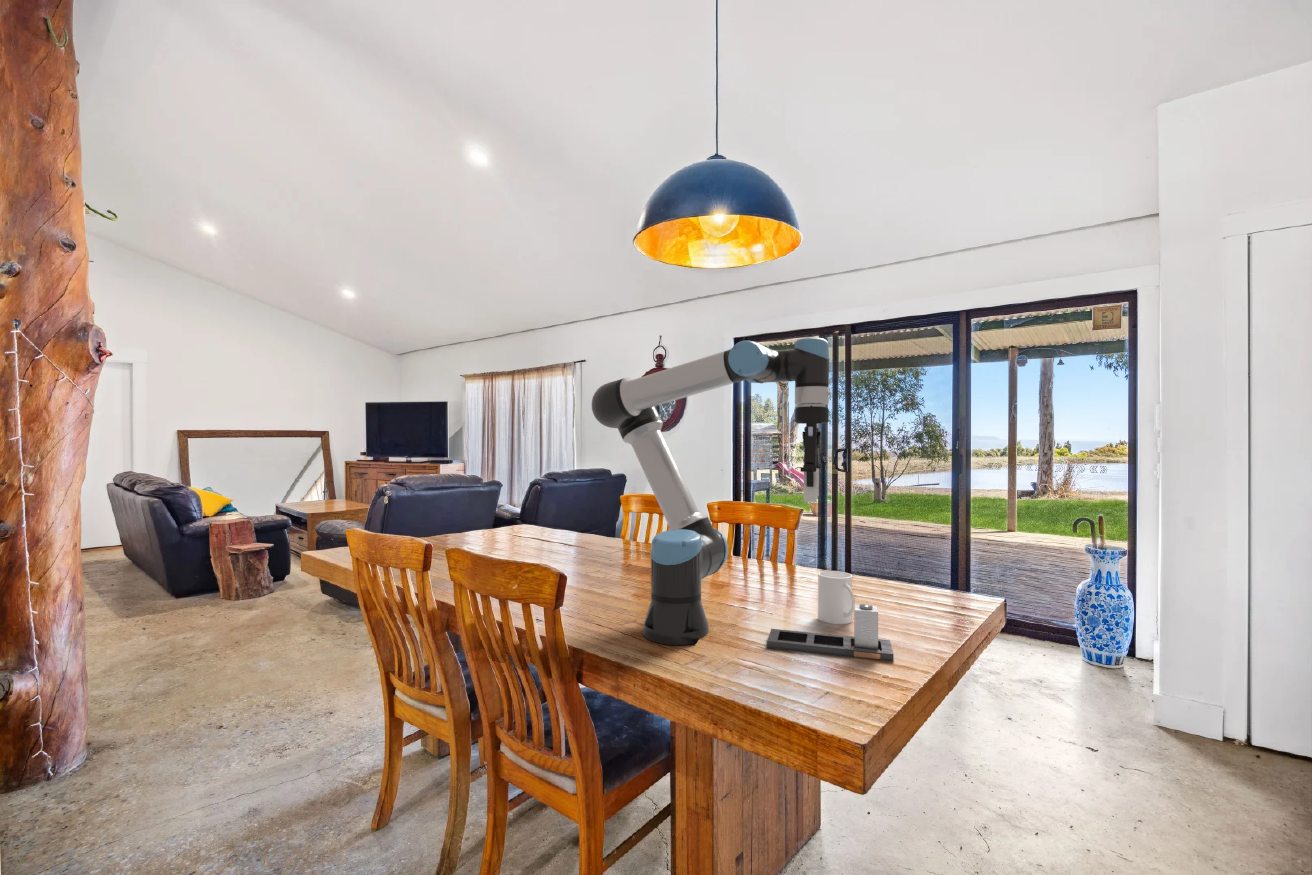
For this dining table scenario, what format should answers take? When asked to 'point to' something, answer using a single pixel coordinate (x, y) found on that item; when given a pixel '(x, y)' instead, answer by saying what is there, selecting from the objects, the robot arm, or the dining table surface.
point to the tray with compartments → (827, 645)
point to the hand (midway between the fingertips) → (811, 498)
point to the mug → (835, 597)
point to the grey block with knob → (865, 627)
